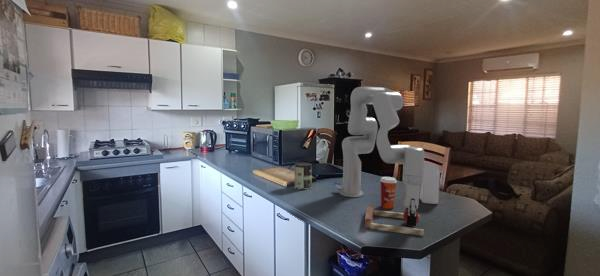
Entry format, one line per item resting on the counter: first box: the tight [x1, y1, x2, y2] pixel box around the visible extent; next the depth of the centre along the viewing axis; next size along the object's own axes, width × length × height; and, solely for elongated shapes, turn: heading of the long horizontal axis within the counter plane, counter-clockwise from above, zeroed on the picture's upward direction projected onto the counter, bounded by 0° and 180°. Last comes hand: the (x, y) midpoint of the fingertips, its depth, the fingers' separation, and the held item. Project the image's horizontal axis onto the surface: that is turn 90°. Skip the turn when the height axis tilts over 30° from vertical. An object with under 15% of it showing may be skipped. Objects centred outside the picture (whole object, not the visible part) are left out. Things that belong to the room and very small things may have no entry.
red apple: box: [402, 209, 420, 227], centre depth 115 cm, size 6×6×8 cm
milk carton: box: [419, 163, 441, 205], centre depth 144 cm, size 7×7×19 cm
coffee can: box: [293, 162, 313, 190], centre depth 168 cm, size 10×10×14 cm
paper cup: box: [380, 176, 398, 210], centre depth 136 cm, size 8×8×14 cm
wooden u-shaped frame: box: [364, 204, 425, 236], centre depth 117 cm, size 21×16×4 cm
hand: (410, 221), depth 115 cm, fingers open, 7 cm apart
